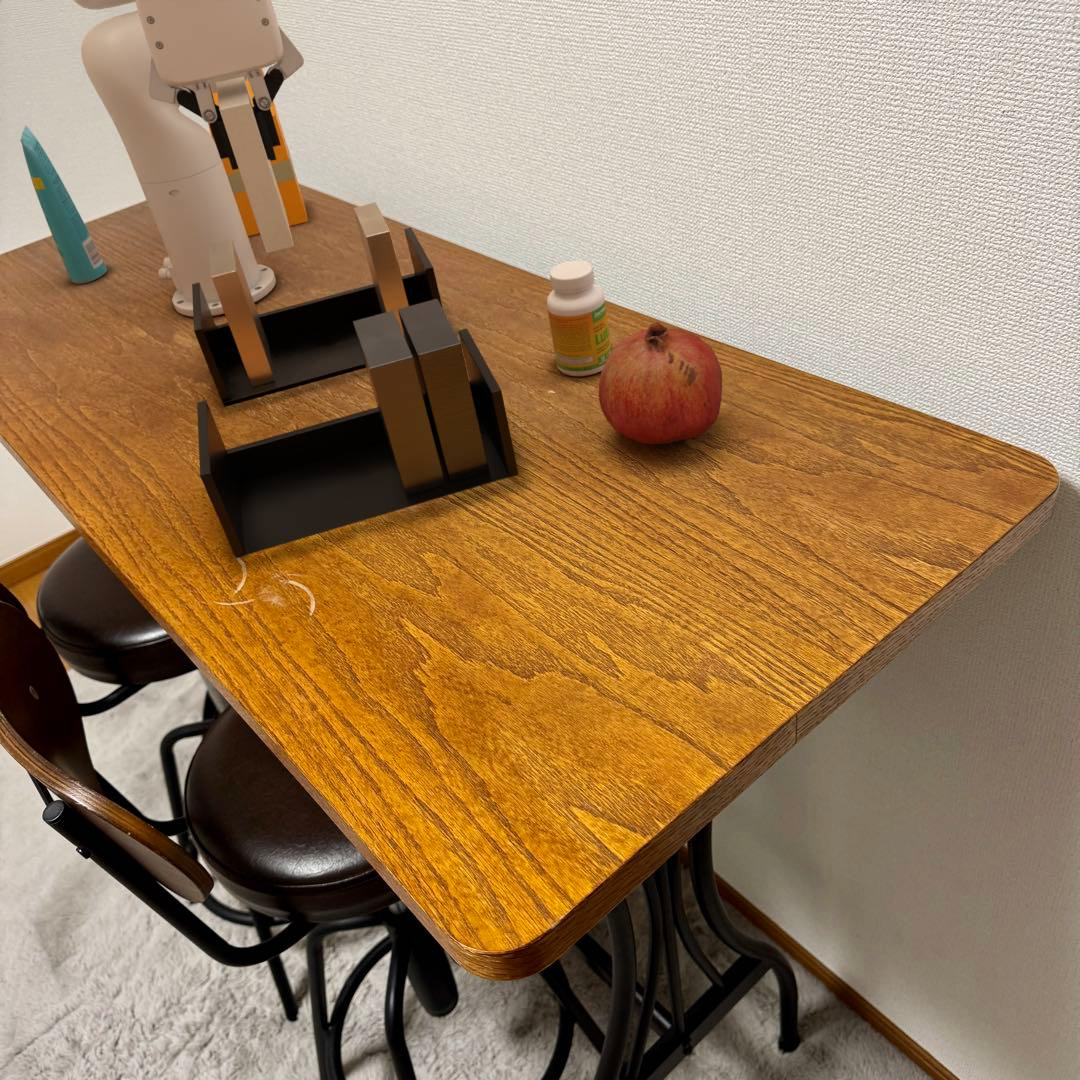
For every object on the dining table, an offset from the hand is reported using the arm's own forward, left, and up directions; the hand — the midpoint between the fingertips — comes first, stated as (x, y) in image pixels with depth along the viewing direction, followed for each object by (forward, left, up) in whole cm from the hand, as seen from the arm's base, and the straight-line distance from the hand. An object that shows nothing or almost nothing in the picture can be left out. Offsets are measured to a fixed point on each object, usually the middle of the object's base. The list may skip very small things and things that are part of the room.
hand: (253, 158), depth 89 cm
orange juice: (-38, +41, -24) cm, 60 cm away
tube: (-55, +21, -24) cm, 63 cm away
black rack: (+13, -12, -24) cm, 30 cm away
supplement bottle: (+23, +11, -24) cm, 35 cm away
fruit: (+35, +1, -24) cm, 42 cm away
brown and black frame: (-5, +8, -24) cm, 25 cm away
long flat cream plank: (0, 0, -7) cm, 7 cm away
